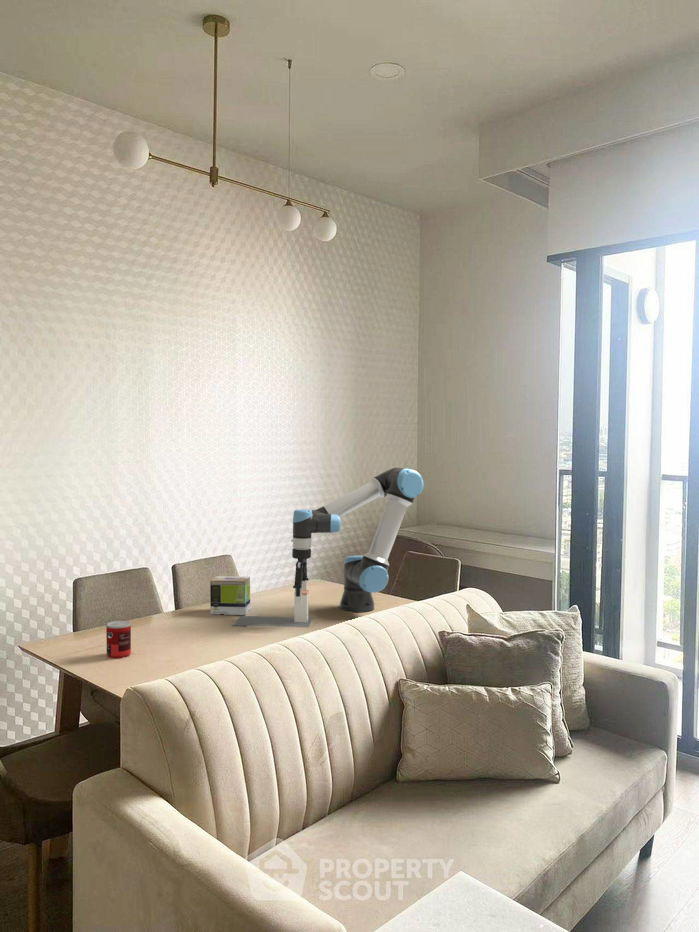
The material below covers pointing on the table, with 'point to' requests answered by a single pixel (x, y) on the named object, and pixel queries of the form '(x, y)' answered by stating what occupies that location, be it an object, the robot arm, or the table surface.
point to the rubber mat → (270, 621)
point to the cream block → (301, 608)
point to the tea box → (230, 595)
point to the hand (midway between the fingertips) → (300, 600)
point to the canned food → (118, 639)
